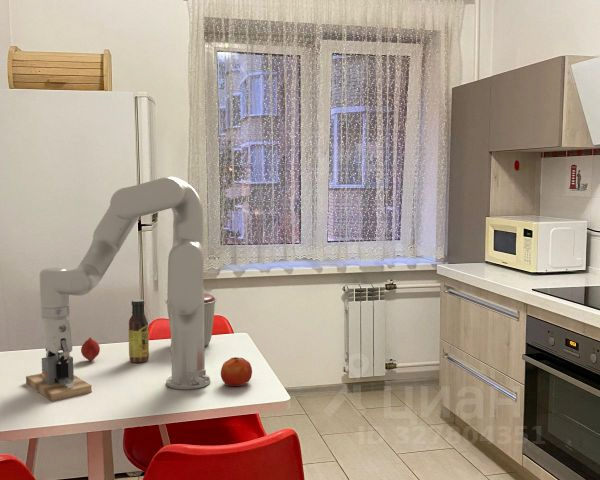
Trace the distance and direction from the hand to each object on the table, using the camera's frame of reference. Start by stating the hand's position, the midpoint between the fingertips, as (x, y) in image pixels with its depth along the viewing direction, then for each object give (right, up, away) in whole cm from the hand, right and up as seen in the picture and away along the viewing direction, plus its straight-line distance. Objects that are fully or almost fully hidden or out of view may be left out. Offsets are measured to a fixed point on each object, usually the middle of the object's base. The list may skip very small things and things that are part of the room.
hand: (57, 373), depth 185 cm
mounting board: (0, -4, 0) cm, 4 cm away
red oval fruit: (+1, -2, +26) cm, 27 cm away
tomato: (+51, -4, +4) cm, 51 cm away
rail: (0, -2, 0) cm, 2 cm away
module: (0, -2, 0) cm, 2 cm away
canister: (+30, 0, +46) cm, 55 cm away
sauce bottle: (+17, -2, +27) cm, 32 cm away
